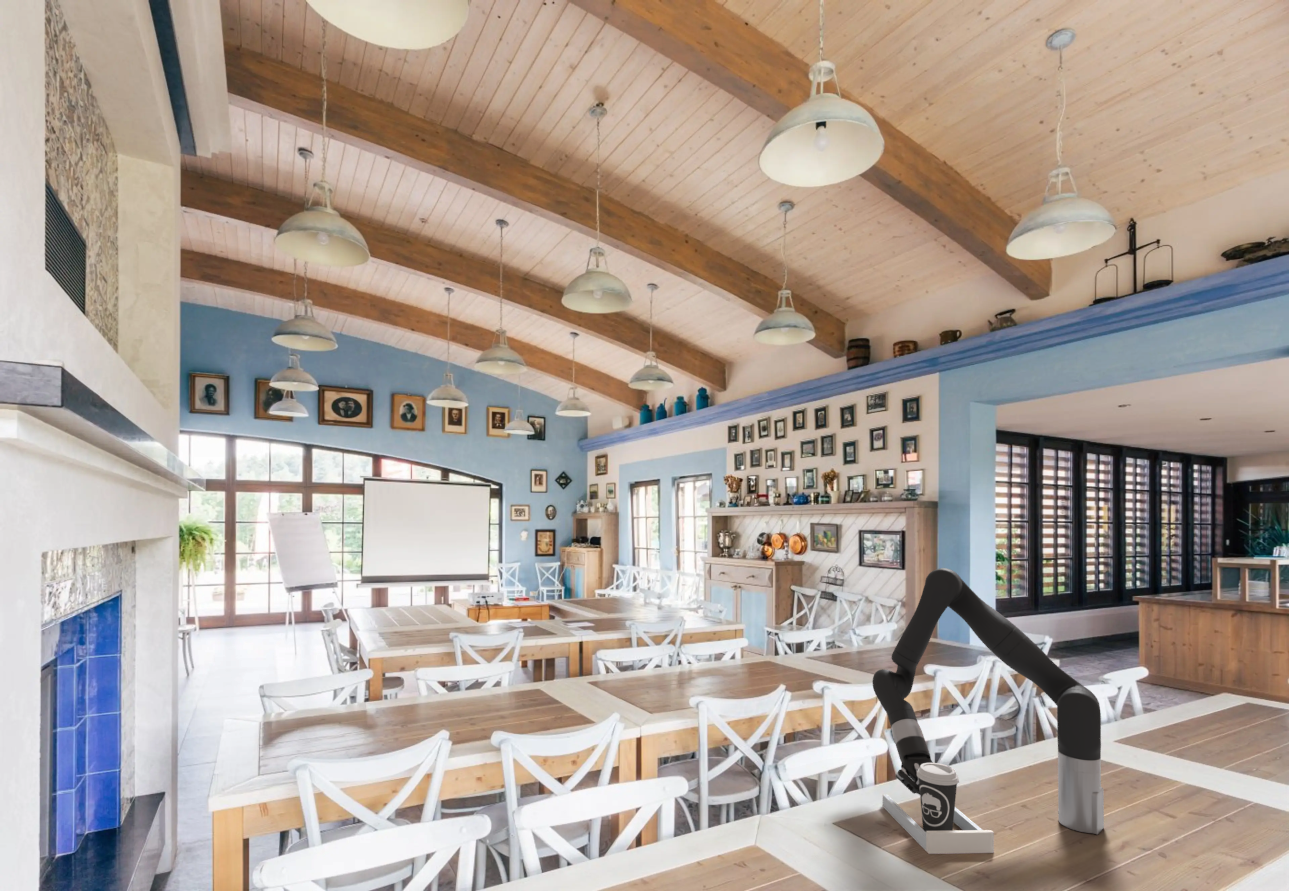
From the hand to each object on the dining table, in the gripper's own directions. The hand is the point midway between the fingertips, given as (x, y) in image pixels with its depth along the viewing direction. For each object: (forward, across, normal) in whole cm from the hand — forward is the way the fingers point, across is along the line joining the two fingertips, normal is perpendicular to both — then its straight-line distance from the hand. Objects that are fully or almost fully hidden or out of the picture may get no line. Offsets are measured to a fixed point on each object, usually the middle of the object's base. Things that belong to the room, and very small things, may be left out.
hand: (932, 809), depth 180 cm
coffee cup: (+5, 0, 0) cm, 5 cm away
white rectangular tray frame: (+3, 0, +3) cm, 4 cm away
